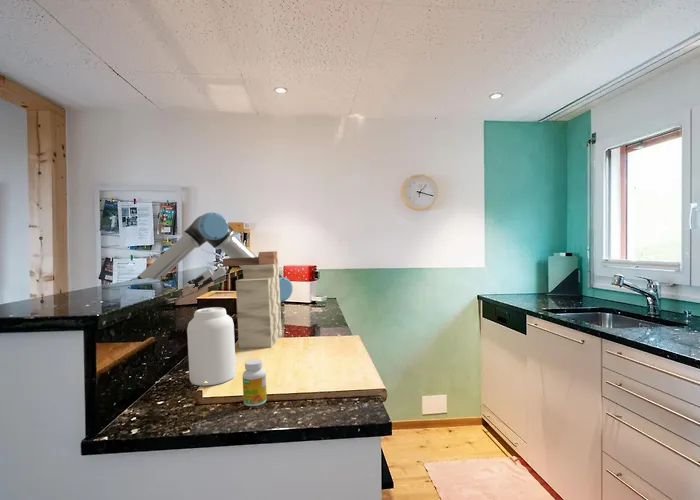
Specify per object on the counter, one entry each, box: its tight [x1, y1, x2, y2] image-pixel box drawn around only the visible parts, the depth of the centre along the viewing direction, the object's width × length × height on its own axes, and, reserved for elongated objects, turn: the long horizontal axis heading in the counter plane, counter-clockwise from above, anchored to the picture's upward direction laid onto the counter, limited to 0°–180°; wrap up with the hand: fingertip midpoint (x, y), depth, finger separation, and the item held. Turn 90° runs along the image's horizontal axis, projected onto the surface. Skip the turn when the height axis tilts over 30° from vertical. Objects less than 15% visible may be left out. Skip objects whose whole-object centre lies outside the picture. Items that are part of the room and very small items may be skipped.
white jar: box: [186, 306, 237, 387], centre depth 107 cm, size 12×12×20 cm
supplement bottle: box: [242, 358, 268, 407], centre depth 90 cm, size 5×5×10 cm
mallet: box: [222, 250, 279, 267], centre depth 152 cm, size 6×21×5 cm, turn 88°
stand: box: [235, 262, 283, 349], centre depth 147 cm, size 18×12×30 cm, turn 178°
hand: (218, 270), depth 152 cm, fingers open, 13 cm apart
